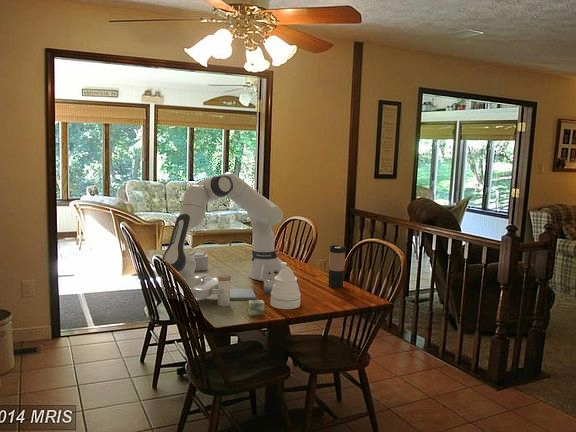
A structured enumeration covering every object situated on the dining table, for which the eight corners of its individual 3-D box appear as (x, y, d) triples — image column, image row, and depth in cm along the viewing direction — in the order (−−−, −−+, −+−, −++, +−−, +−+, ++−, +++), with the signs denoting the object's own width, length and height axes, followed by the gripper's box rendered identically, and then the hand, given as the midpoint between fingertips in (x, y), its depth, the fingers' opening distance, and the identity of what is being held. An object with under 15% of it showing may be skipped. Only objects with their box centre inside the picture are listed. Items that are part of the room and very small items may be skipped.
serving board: (252, 290, 238) (252, 288, 238) (255, 299, 225) (255, 297, 224) (217, 291, 235) (218, 288, 235) (219, 300, 222) (219, 297, 222)
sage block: (262, 311, 209) (263, 300, 209) (264, 315, 205) (264, 303, 205) (248, 312, 208) (248, 300, 207) (249, 315, 204) (249, 303, 204)
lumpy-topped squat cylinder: (191, 271, 271) (191, 255, 270) (183, 265, 282) (183, 250, 281) (209, 269, 276) (210, 253, 275) (201, 264, 287) (201, 249, 286)
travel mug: (330, 288, 247) (333, 248, 244) (325, 284, 254) (327, 245, 252) (345, 288, 249) (347, 248, 246) (340, 284, 256) (342, 245, 254)
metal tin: (275, 290, 240) (276, 278, 239) (277, 294, 234) (278, 281, 234) (263, 290, 239) (263, 278, 238) (264, 294, 233) (265, 281, 232)
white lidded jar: (229, 302, 220) (230, 274, 218) (230, 306, 214) (231, 278, 213) (217, 302, 219) (217, 274, 217) (217, 306, 213) (218, 278, 212)
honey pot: (264, 303, 220) (265, 262, 218) (285, 298, 229) (287, 259, 226) (284, 311, 211) (286, 268, 208) (306, 305, 220) (308, 264, 217)
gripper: (184, 285, 209) (215, 288, 205) (206, 273, 228) (235, 276, 224) (184, 299, 210) (215, 304, 206) (206, 287, 229) (234, 290, 225)
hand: (226, 289), depth 215 cm, fingers closed on white lidded jar, 5 cm apart
